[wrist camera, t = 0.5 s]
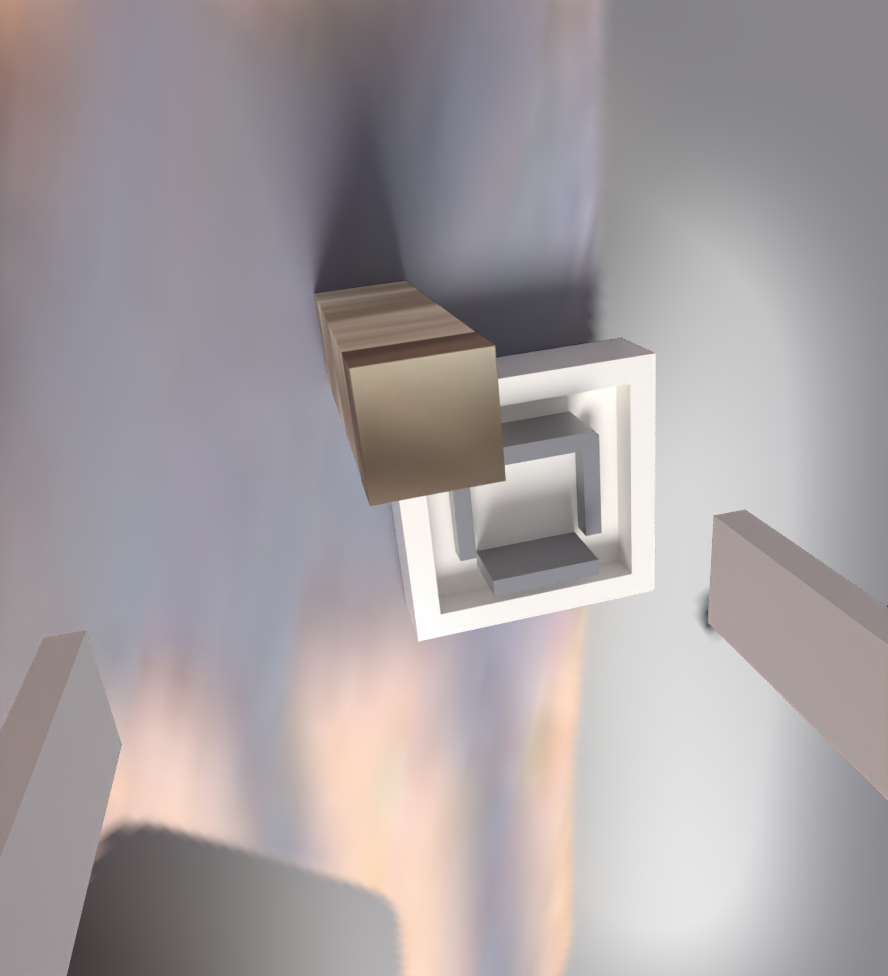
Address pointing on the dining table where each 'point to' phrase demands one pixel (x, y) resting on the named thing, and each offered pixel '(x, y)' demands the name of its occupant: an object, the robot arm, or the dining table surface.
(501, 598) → the white square frame
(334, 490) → the dining table surface
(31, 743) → the robot arm
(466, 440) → the wood grain beam
